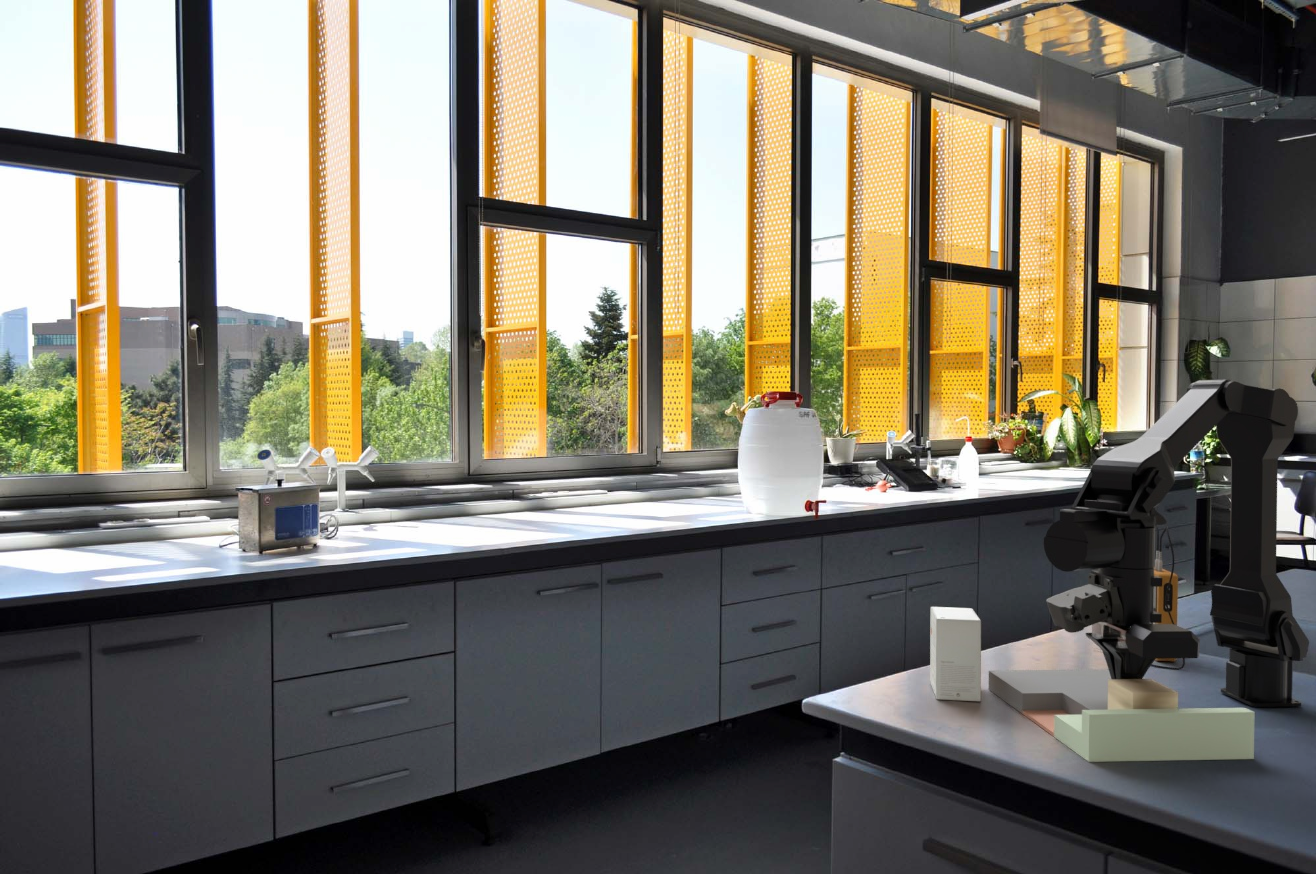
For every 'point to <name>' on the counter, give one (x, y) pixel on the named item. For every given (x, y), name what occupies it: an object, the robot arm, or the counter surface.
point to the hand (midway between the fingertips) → (1123, 699)
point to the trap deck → (1121, 719)
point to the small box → (955, 653)
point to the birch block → (1140, 695)
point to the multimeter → (1165, 593)
